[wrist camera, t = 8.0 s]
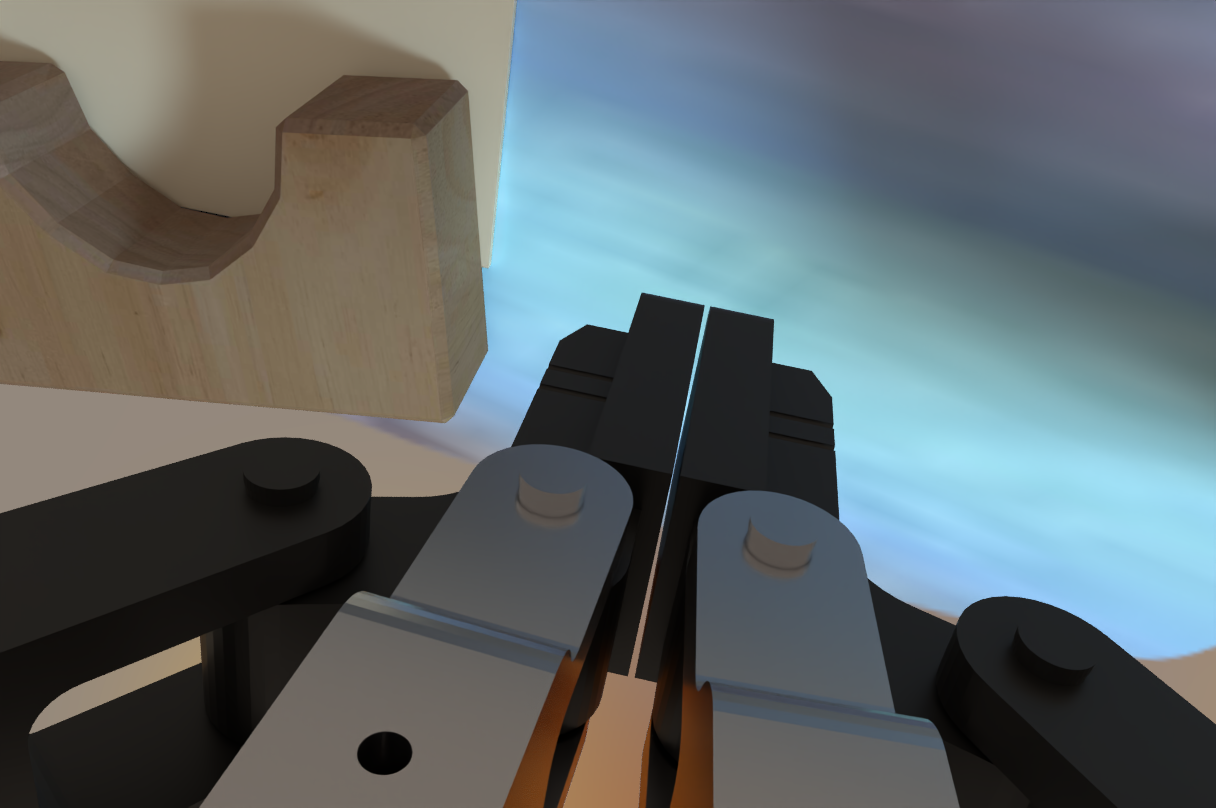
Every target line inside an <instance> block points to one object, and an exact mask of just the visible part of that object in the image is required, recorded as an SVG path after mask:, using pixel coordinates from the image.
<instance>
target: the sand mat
mask: <svg viewBox="0 0 1216 808" xmlns="http://www.w3.org/2000/svg"><path fill="white" fill-rule="evenodd" d="M516 4H517V0H0V61H15V62H38V63H52V64H53V65H55V66H56V67H58V68H59V69H61V70H62V71H64V72H65V74H66V76H67V78H68V80H69V82H70V85H71V87H72V89H73V91H74V93H75V95H76V98H77V100H78V102H79V104H80V106H81V108H82V111H83V113H84V115H85V117H86V119H87V121H88V124H89V126H90V128H91V129H92V131H93V132H94V133H95V134H96V135H97V136H98V137H99V138H100V139H101V140H102V141H103V143H104V144H105V145H106V146H107V147H108V148H109V149H110V150H111V151H112V152H113V153H114V155H115V156H116V157H117V158H118V159H119V160H120V161H121V162H122V163H123V164H124V165H125V167H126V168H127V169H128V170H129V171H130V172H131V173H132V174H133V175H135V176H136V177H138V178H139V179H140V180H142V181H143V182H145V183H146V184H148V185H149V186H151V187H152V188H154V189H155V190H157V191H158V192H160V193H161V194H162V195H164V196H165V197H167V198H168V199H170V200H171V201H173V202H174V203H176V204H177V205H179V206H180V207H184V208H189V209H194V210H199V211H204V212H209V213H214V214H219V215H224V216H229V217H237V216H246V215H255V214H261V213H262V211H263V209H264V207H265V205H266V203H267V202H268V200H269V198H270V196H271V194H272V192H273V191H274V185H275V137H276V127H277V126H278V125H279V124H280V123H281V122H282V121H283V120H284V119H285V118H286V117H288V116H289V115H290V114H292V113H293V112H294V111H296V110H297V109H298V108H300V107H301V106H302V105H304V104H305V103H306V102H308V101H309V100H311V99H312V98H313V97H315V96H316V95H317V94H319V93H320V92H321V91H323V90H324V89H325V88H327V87H328V86H329V85H331V84H332V83H333V82H335V81H336V80H338V79H339V78H340V77H342V76H343V75H354V76H377V77H399V78H422V79H444V80H458V81H459V82H460V83H461V84H462V85H463V86H464V87H465V88H466V89H467V90H468V94H469V108H470V121H471V134H472V148H473V161H474V175H475V188H476V201H477V215H478V228H479V241H480V254H481V267H484V268H489V267H490V265H491V258H492V248H493V238H494V228H495V218H496V207H497V197H498V187H499V177H500V167H501V156H502V146H503V136H504V126H505V116H506V105H507V95H508V85H509V75H510V65H511V54H512V44H513V34H514V24H515V14H516Z"/></svg>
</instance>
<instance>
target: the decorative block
mask: <svg viewBox="0 0 1216 808" xmlns="http://www.w3.org/2000/svg"><path fill="white" fill-rule="evenodd" d="M487 351H488V344H487V331H486V318H485V305H484V292H483V280H482V267H481V254H480V241H479V228H478V215H477V201H476V188H475V175H474V161H473V148H472V134H471V121H470V108H469V94H468V90H467V89H466V88H465V87H464V86H463V85H462V84H461V83H460V82H459V81H458V80H444V79H422V78H399V77H377V76H354V75H343V76H342V77H340V78H339V79H338V80H336V81H335V82H333V83H332V84H331V85H329V86H328V87H327V88H325V89H324V90H323V91H321V92H320V93H319V94H317V95H316V96H315V97H313V98H312V99H311V100H309V101H308V102H306V103H305V104H304V105H302V106H301V107H300V108H298V109H297V110H296V111H294V112H293V113H292V114H290V115H289V116H288V117H286V118H285V119H284V120H283V121H282V122H281V123H280V124H279V125H278V126H277V127H276V137H275V185H274V191H273V192H272V194H271V196H270V198H269V200H268V202H267V203H266V205H265V207H264V209H263V211H262V213H261V214H255V215H246V216H237V217H229V218H225V217H221V216H217V215H212V214H208V213H203V212H199V211H194V210H190V209H186V208H181V207H180V206H179V205H177V204H176V203H174V202H173V201H171V200H170V199H168V198H167V197H165V196H164V195H162V194H161V193H160V192H158V191H157V190H155V189H154V188H152V187H151V186H149V185H148V184H146V183H145V182H143V181H142V180H140V179H139V178H138V177H136V176H135V175H133V174H132V173H131V172H130V171H129V170H128V169H127V168H126V167H125V165H124V164H123V163H122V162H121V161H120V160H119V159H118V158H117V157H116V156H115V155H114V153H113V152H112V151H111V150H110V149H109V148H108V147H107V146H106V145H105V144H104V143H103V141H102V140H101V139H100V138H99V137H98V136H97V135H96V134H95V133H94V132H93V131H92V129H91V128H90V126H89V124H88V121H87V119H86V117H85V115H84V113H83V111H82V108H81V106H80V104H79V102H78V100H77V98H76V95H75V93H74V91H73V89H72V87H71V85H70V82H69V80H68V78H67V76H66V74H65V72H64V71H62V70H61V69H59V68H58V67H56V66H55V65H53V64H52V63H38V62H15V61H0V384H9V385H21V386H32V387H44V388H55V389H67V390H79V391H90V392H101V393H112V394H123V395H134V396H145V397H156V398H167V399H179V400H189V401H200V402H213V403H224V404H235V405H247V406H258V407H270V408H282V409H295V410H306V411H317V412H328V413H339V414H350V415H361V416H372V417H383V418H394V419H405V420H416V421H427V422H438V423H446V422H447V421H449V420H450V419H451V418H452V417H453V416H454V415H455V413H456V411H457V409H458V407H459V405H460V404H461V402H462V400H463V398H464V396H465V394H466V392H467V390H468V388H469V386H470V384H471V382H472V380H473V378H474V376H475V375H476V373H477V371H478V369H479V367H480V365H481V363H482V361H483V359H484V357H485V355H486V353H487Z"/></svg>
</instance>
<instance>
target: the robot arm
mask: <svg viewBox="0 0 1216 808" xmlns="http://www.w3.org/2000/svg"><path fill="white" fill-rule="evenodd" d="M704 306H705V305H700V304H695V303H691V302H686V301H681V300H676V299H671V298H666V297H661V296H657V295H652V294H647V293H642V294H641V296H640V299H639V302H638V305H637V308H636V311H635V314H634V317H633V320H632V323H631V327H630V330H629V333H626V332H621V331H616V330H612V329H607V328H602V327H597V326H592V325H588V324H587V325H585V326H584V327H582V328H580V329H579V330H577V331H575V332H574V333H572V334H570V335H568V336H567V337H565V338H563V339H562V340H560V341H559V343H558V346H557V348H556V350H555V352H554V354H553V356H552V359H551V361H550V363H549V367H548V369H547V370H546V372H545V374H544V376H543V378H542V381H541V383H540V387H539V388H538V389H537V392H536V394H535V396H534V398H533V400H532V402H531V405H530V407H529V409H528V411H527V413H526V416H525V418H524V420H523V422H522V424H521V427H520V429H519V431H518V433H517V435H516V438H515V440H514V442H513V444H512V446H511V447H510V448H506V449H503V450H500V451H497V452H495V453H493V454H491V455H489V456H487V457H486V458H485V459H484V460H482V461H481V462H480V463H479V464H478V465H477V466H476V467H475V469H474V470H473V471H472V473H471V474H470V476H469V477H468V479H467V481H466V482H465V484H464V485H463V487H462V488H461V490H460V491H459V492H456V493H452V494H447V495H440V496H432V497H371V491H372V484H371V479H370V475H369V474H368V472H367V470H366V468H365V467H364V466H363V465H362V464H361V462H360V461H359V460H358V459H356V458H355V457H354V456H352V455H351V454H349V453H347V452H346V451H344V450H342V449H340V448H338V447H335V446H332V445H330V444H327V443H323V442H319V441H314V440H309V439H302V438H267V439H260V440H254V441H250V442H245V443H241V444H238V445H234V446H231V447H227V448H224V449H220V450H217V451H213V452H210V453H207V454H203V455H200V456H196V457H193V458H189V459H186V460H183V461H179V462H176V463H172V464H169V465H166V466H162V467H159V468H155V469H152V470H149V471H145V472H141V473H138V474H134V475H131V476H128V477H124V478H121V479H117V480H114V481H110V482H107V483H103V484H100V485H96V486H93V487H89V488H86V489H83V490H80V491H76V492H72V493H69V494H66V495H62V496H58V497H55V498H52V499H48V500H45V501H41V502H38V503H34V504H31V505H28V506H24V507H21V508H17V509H14V510H10V511H7V512H4V513H0V808H563V806H564V803H565V800H566V797H567V794H568V791H569V788H570V785H571V782H572V779H573V776H574V773H575V770H576V767H577V764H578V761H579V758H580V755H581V752H582V749H583V746H584V743H585V739H586V735H587V730H588V725H589V720H590V717H591V716H592V715H593V714H594V712H595V711H596V709H597V708H598V706H599V704H600V701H601V698H602V694H603V689H604V685H605V680H606V676H607V672H611V673H616V674H620V675H624V676H628V673H629V668H630V664H631V659H632V655H633V650H634V645H635V641H636V636H637V632H638V628H639V623H640V619H641V614H642V609H643V605H644V600H645V595H646V591H647V587H648V582H649V578H650V573H651V569H652V564H653V560H654V555H655V551H656V546H657V542H658V537H659V533H660V528H661V524H662V519H663V514H664V510H665V505H666V501H667V496H668V492H669V487H670V483H671V478H672V474H673V468H674V463H675V458H676V453H677V448H678V442H679V437H680V432H681V427H682V421H683V416H684V411H685V406H686V401H687V395H688V390H689V385H690V380H691V374H692V369H693V364H694V359H695V354H696V348H697V343H698V338H699V333H700V327H701V322H702V317H703V312H704ZM773 332H774V319H769V318H764V317H760V316H755V315H750V314H745V313H740V312H735V311H730V310H725V309H721V308H716V307H711V306H710V310H709V314H708V318H707V322H706V327H705V331H704V336H703V340H702V345H701V349H700V354H699V358H698V363H697V367H696V372H695V376H694V381H693V385H692V390H691V394H690V399H689V404H688V408H687V413H686V417H685V422H684V426H683V431H682V435H681V440H680V445H679V449H678V454H677V459H676V464H675V469H674V474H673V479H672V484H671V489H670V495H669V500H668V505H667V510H666V516H665V521H664V526H663V531H662V537H661V542H660V547H659V552H658V558H657V563H656V568H655V574H654V579H653V585H652V589H651V595H650V600H649V605H648V610H647V616H646V622H645V626H644V632H643V637H642V642H641V648H640V653H639V659H638V664H637V668H636V674H635V678H639V679H644V680H648V681H652V682H657V686H656V692H655V698H654V704H653V709H652V714H651V718H650V722H649V726H648V730H647V734H646V739H645V743H644V747H643V752H642V764H641V778H640V793H639V807H638V808H1216V724H1215V723H1213V722H1212V721H1211V720H1210V719H1208V718H1207V717H1206V716H1205V715H1204V714H1202V713H1201V712H1200V711H1198V710H1197V709H1196V708H1195V707H1194V706H1192V705H1191V704H1190V703H1189V702H1188V701H1186V700H1185V699H1184V698H1183V697H1181V696H1180V695H1179V694H1178V693H1176V692H1175V691H1174V690H1173V689H1172V688H1170V687H1169V686H1168V685H1167V684H1165V683H1164V682H1163V681H1162V680H1160V679H1159V678H1157V676H1156V675H1154V674H1153V673H1152V672H1151V671H1149V670H1148V669H1147V668H1146V667H1144V666H1143V665H1142V664H1141V663H1140V662H1138V661H1137V660H1136V659H1135V658H1133V657H1132V656H1131V655H1130V654H1128V653H1127V652H1126V651H1125V650H1124V649H1122V648H1121V647H1120V646H1119V645H1117V644H1116V643H1115V642H1114V641H1112V640H1111V639H1110V638H1109V637H1108V636H1106V635H1105V634H1103V633H1102V632H1101V631H1099V630H1098V629H1097V628H1095V627H1094V626H1092V625H1091V624H1089V623H1087V622H1086V621H1084V620H1082V619H1081V618H1079V617H1077V616H1075V615H1073V614H1071V613H1069V612H1067V611H1065V610H1062V609H1060V608H1057V607H1055V606H1052V605H1049V604H1046V603H1043V602H1039V601H1036V600H1031V599H1026V598H1020V597H1008V596H1003V597H991V598H986V599H982V600H980V601H977V602H975V603H973V604H971V605H970V606H969V607H967V608H966V609H965V610H964V611H963V613H962V614H961V616H960V617H959V620H958V622H957V624H956V625H953V624H951V623H949V622H947V621H944V620H942V619H940V618H937V617H935V616H933V615H931V614H929V613H926V612H924V611H922V610H919V609H917V608H915V607H913V606H911V605H909V604H907V603H905V602H903V601H901V600H899V599H897V598H895V597H893V596H892V595H890V594H889V593H887V592H885V591H884V590H882V589H881V588H880V587H878V586H877V585H876V584H874V583H873V582H872V581H870V580H869V579H868V578H867V574H866V569H865V564H864V559H863V554H862V551H861V548H860V545H859V544H858V542H857V540H856V539H855V537H854V535H853V534H852V533H851V532H850V531H849V530H848V528H847V527H846V526H845V525H843V524H842V523H841V522H840V521H839V507H838V490H837V473H836V457H835V451H834V447H835V440H834V429H833V424H834V423H833V406H832V397H831V396H830V394H829V393H828V392H827V390H826V389H825V388H824V386H823V385H822V384H821V382H820V381H819V380H818V378H817V377H816V376H815V375H814V373H813V372H812V371H809V370H805V369H800V368H795V367H790V366H785V365H781V364H776V363H772V353H773ZM199 636H200V643H201V659H202V663H199V664H197V665H195V666H192V667H190V668H188V669H185V670H183V671H180V672H178V673H176V674H173V675H171V676H168V677H166V678H164V679H161V680H159V681H157V682H154V683H152V684H149V685H147V686H145V687H142V688H140V689H137V690H135V691H133V692H130V693H128V694H126V695H123V696H121V697H119V698H116V699H114V700H111V701H109V702H107V703H104V704H102V705H99V706H97V707H95V708H92V709H90V710H88V711H85V712H83V713H80V714H78V715H76V716H74V717H71V718H69V719H66V720H64V721H61V722H59V723H57V724H54V725H52V726H50V727H47V728H45V729H42V730H40V731H38V732H35V733H32V734H29V732H30V730H31V727H32V725H33V723H34V722H35V720H36V718H37V717H38V715H39V714H40V713H41V712H42V711H43V710H44V708H46V707H47V706H48V705H49V704H50V703H51V702H52V701H53V700H55V699H56V698H57V697H58V696H60V695H61V694H63V693H65V692H66V691H68V690H69V689H71V688H73V687H76V686H78V685H80V684H82V683H85V682H87V681H90V680H92V679H95V678H97V677H100V676H102V675H105V674H107V673H109V672H112V671H115V670H117V669H119V668H122V667H124V666H127V665H129V664H132V663H134V662H137V661H139V660H142V659H144V658H147V657H149V656H152V655H154V654H157V653H159V652H162V651H164V650H167V649H169V648H171V647H174V646H176V645H179V644H181V643H184V642H186V641H189V640H191V639H194V638H196V637H199Z"/></svg>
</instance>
